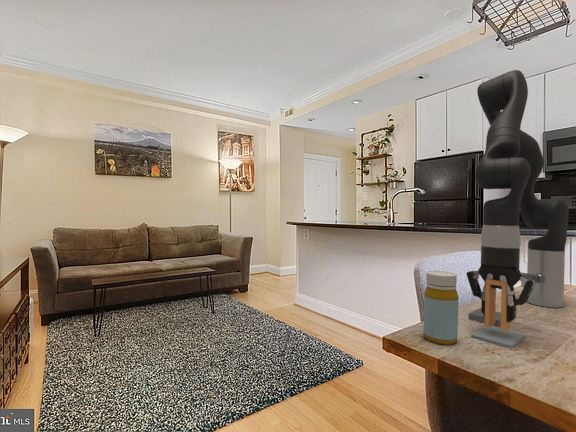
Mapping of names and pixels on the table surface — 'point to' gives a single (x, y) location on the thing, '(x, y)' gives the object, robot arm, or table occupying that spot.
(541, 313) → the table surface
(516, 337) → the mat
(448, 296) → the bottle
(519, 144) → the robot arm
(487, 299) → the link
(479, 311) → the stand
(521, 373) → the table surface
